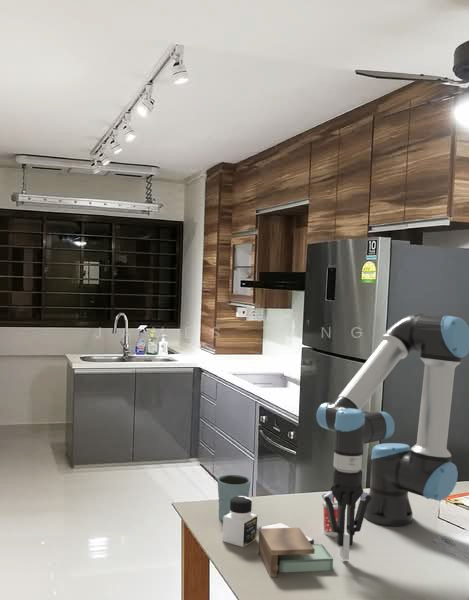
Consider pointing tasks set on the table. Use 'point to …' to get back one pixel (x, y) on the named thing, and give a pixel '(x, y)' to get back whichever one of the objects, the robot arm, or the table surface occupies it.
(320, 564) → the bevelled sage-green slab
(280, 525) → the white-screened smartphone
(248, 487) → the teal tapered cup
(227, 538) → the medicine bottle
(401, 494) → the robot arm
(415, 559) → the table surface
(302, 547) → the walnut shelf
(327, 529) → the beverage cup
